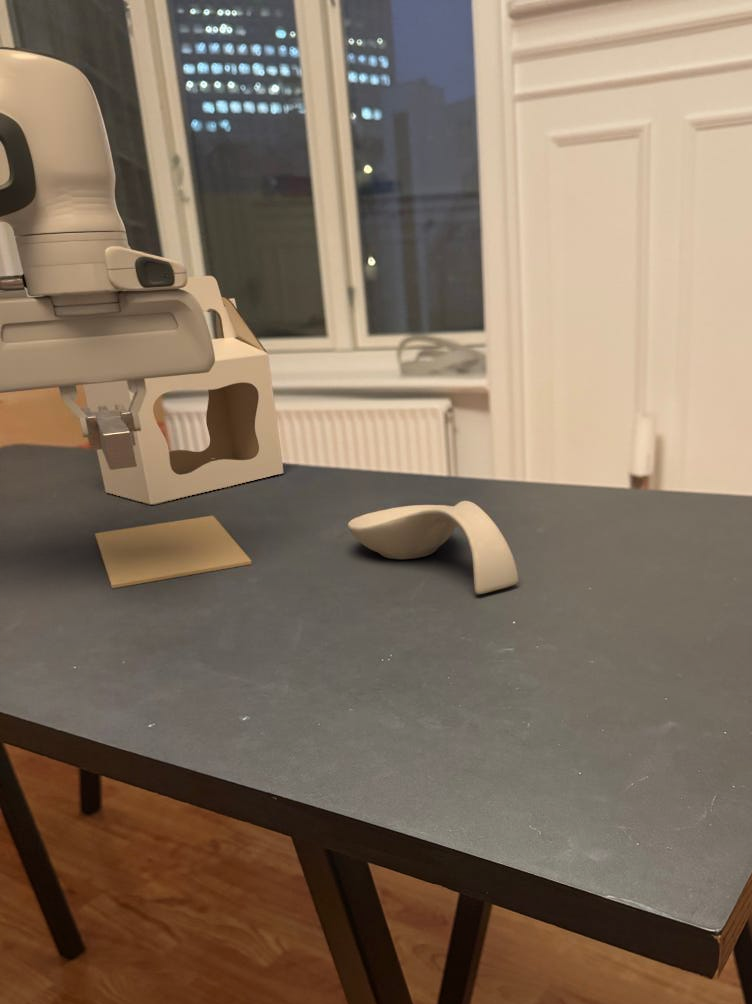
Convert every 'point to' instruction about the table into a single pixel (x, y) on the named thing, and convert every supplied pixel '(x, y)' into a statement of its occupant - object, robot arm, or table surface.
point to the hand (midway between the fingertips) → (112, 433)
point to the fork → (113, 437)
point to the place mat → (168, 551)
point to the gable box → (230, 416)
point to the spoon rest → (440, 538)
